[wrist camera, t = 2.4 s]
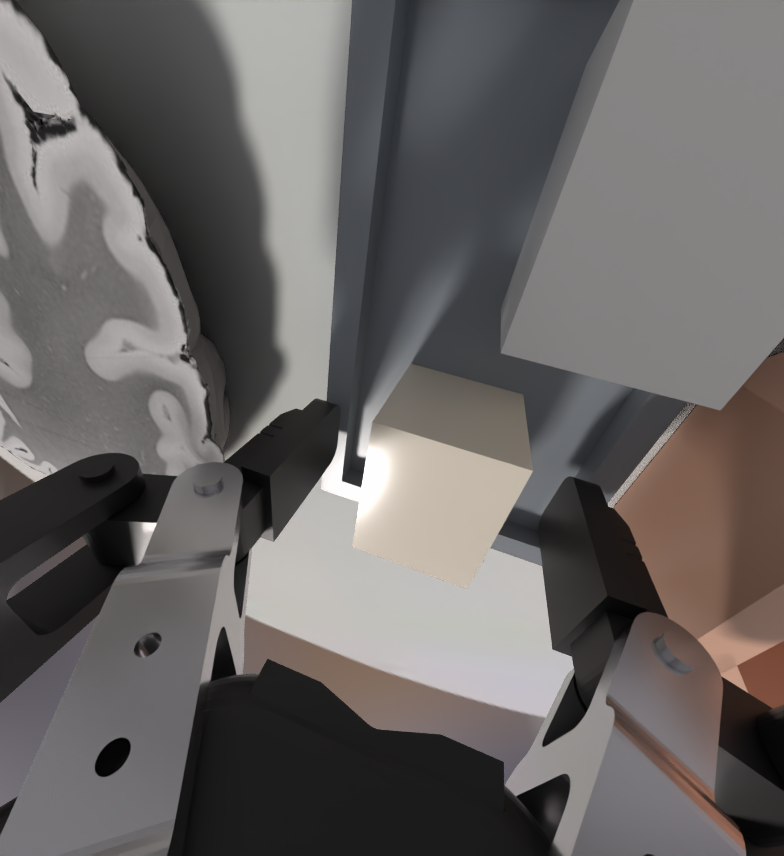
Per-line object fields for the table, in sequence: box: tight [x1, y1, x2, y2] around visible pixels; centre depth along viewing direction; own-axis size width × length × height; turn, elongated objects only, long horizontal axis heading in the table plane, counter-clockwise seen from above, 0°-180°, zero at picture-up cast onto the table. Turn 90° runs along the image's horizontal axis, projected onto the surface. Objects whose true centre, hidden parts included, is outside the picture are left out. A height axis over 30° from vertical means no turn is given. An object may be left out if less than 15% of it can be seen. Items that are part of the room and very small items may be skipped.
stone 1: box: [352, 364, 533, 589], centre depth 9 cm, size 4×3×4 cm
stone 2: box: [501, 0, 784, 410], centre depth 5 cm, size 4×3×4 cm
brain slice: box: [0, 0, 230, 476], centre depth 12 cm, size 20×17×3 cm
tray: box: [321, 0, 687, 566], centre depth 9 cm, size 14×9×1 cm, turn 170°
